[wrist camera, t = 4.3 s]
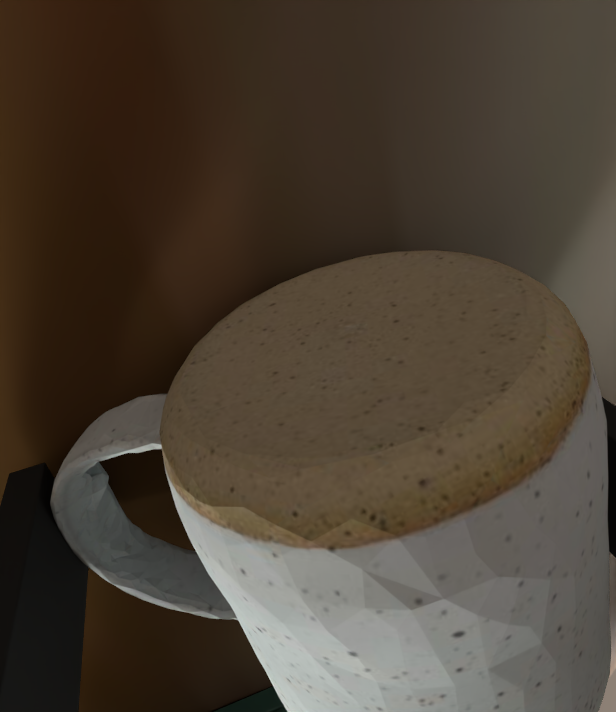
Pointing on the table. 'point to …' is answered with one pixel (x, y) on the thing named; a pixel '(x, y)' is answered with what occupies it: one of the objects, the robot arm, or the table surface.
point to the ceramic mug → (378, 490)
